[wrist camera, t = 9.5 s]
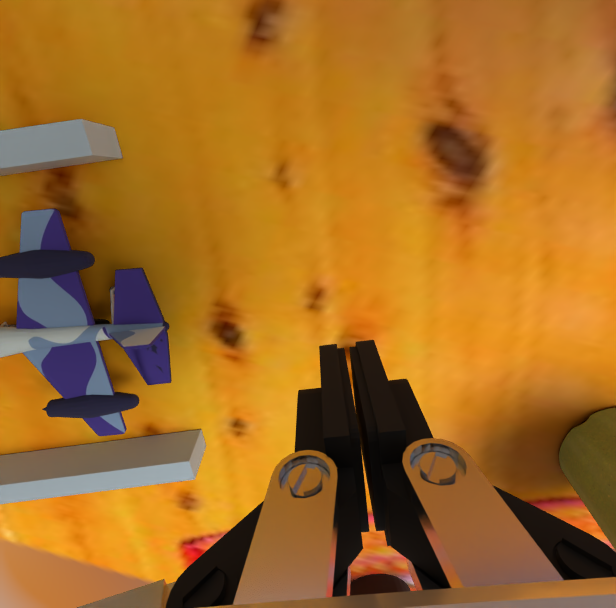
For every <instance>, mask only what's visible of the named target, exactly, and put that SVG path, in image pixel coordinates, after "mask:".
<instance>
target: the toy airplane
mask: <svg viewBox="0 0 616 608" xmlns="http://www.w3.org/2000/svg"><path fill="white" fill-rule="evenodd" d="M94 262H95V258H94V256H93V255H92V254H91V253H89V252H86V251H76V250H71V247H70V244H69V241H68V237H67V234H66V231H65V228H64V225H63V222H62V219H61V216H60V213H59V211H58V210H57V209H44V210H34V211H24V212H23V213H22V215H21V237H20V253H16V254H12V255H8V256H4V257H0V278H2V277H3V278H19V281H18V302H17V324H16V325H7V322H3V324H1V325H0V357H5V356H9V355H14V354H18V353H23V354H24V355H25V356H26V357H27V358H28V359H29V360H30V361H31V363H32V364H33V365H34V366H35V367H36V368H37V369H38V370H39V371H40V372H41V374H42V375H43V376H44V377H45V378H46V379H47V380H48V381H49V382H50V383H51V384H52V386H53V387H54V388H55V389H56V390H57V391H58V392H59V393H60V394H61V395H62V397H63V398H60V399H54V400H51V401H50V402H49V403H48V404H47V407H46V408H44V409H42V410H45V411H46V412H47V415H48V416H49V417H70V418H83V420H84V421H85V422H86V423H87V424H88V425H89V426H90V427H91V428H92V429H93V430H94V432H95V433H96V434H97V435H98V436H107V435H117V434H123V433H125V431H126V426H125V423H124V420H123V417H122V413H121V411H125V410H128V409H132V408H135V407H136V406H137V405H138V403H139V398H138V396H137V395H135V394H128V393H121V392H114V388H113V385H112V382H111V379H110V376H109V373H108V370H107V367H106V364H105V360H104V357H103V354H102V351H101V348H100V345H99V342H98V341H101V340H108V339H114V340H115V341H116V342H117V343H118V344H119V345H120V346H121V347H122V348H123V349H124V350H125V352H126V353H127V355H128V356H129V358H130V359H131V361H132V362H133V364H134V365H135V367H136V368H137V370H138V371H139V373H140V374H141V376H142V377H143V379H144V380H145V382H146V383H147V385H154V384H163V383H171V368H170V355H169V341H168V333H167V330H168V329H169V324H168V323H167V322H165V321H164V317H163V315H162V313H161V310H160V308H159V306H158V303H157V301H156V299H155V296H154V294H153V291H152V289H151V287H150V284H149V282H148V280H147V277H146V275H145V272H144V270H143V268H132V269H119V270H115V286H112V287H111V288H110V298H111V316H112V324H110V322H109V321H108V320H106V319H94V318H93V315H92V312H91V309H90V306H89V303H88V300H87V297H86V293H85V290H84V287H83V284H82V281H81V278H80V275H79V272H78V271H79V270H82V269H85V268H88V267H91V266H92V265H93V264H94ZM114 294H115V297H114ZM2 326H3V327H2Z"/></svg>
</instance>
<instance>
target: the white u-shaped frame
mask: <svg viewBox="0 0 616 608" xmlns="http://www.w3.org/2000/svg"><path fill="white" fill-rule="evenodd" d="M121 158H123V157H122V153H121V150H120V146H119V143H118V139H117V136H116V132H115V129H114V127H110V126H106V125H102V124H99V123H95V122H91V121H87V120H84V119H77V120H70V121H63V122H57V123H50V124H43V125H36V126H29V127H22V128H16V129H9V130H2V131H0V176H3V175H10V174H17V173H24V172H31V171H38V170H45V169H52V168H59V167H66V166H73V165H80V164H86V163H93V162H100V161H107V160H114V159H121ZM205 448H206V444H205V441H204V437H203V434H202V430H201V429H200V430H192V431H184V432H177V433H169V434H161V435H154V436H146V437H138V438H130V439H123V440H115V441H107V442H100V443H92V444H84V445H77V446H69V447H61V448H53V449H46V450H38V451H30V452H23V453H15V454H7V455H0V504H5V503H13V502H21V501H29V500H36V499H44V498H52V497H60V496H68V495H76V494H84V493H91V492H99V491H107V490H115V489H123V488H131V487H138V486H146V485H154V484H162V483H170V482H178V481H186V480H193V479H195V477H196V474H197V472H198V469H199V466H200V463H201V460H202V457H203V454H204V451H205Z"/></svg>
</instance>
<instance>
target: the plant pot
mask: <svg viewBox="0 0 616 608" xmlns="http://www.w3.org/2000/svg"><path fill="white" fill-rule="evenodd" d="M559 463H560V467H561V469H562V471H563V473H564V474H565V476H566V478H567V479H568V481H569V482H570V484H571V485H572V487H573V488H574V490H575V491H576V492H577V494H578V495H579V497H580V498H581V500H582V501H583V503H584V504H585V506H586V507H587V509H588V510H589V512H590V513H591V515H592V516H593V518H594V519H595V520H596V522H597V523H598V525H599V526H600V528H601V529H602V531H603V532H604V534H605V535H606V537H607V538H608V540H609V541H610V543H611V544H612V546H613V547H614V549H616V408H609V409H605V410H601V411H599V412H596V413H594V414H592V415H590V417H589V419H588V420H587V421H586V422H584V423H583V424H581V425H580V426H578V427H575V428H573V429H572V430H571V431H570V432H569V433H568V434H567V436H566V437H565V439H564V441H563V443H562V445H561V448H560V452H559Z"/></svg>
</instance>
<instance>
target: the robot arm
mask: <svg viewBox="0 0 616 608" xmlns="http://www.w3.org/2000/svg"><path fill="white" fill-rule="evenodd" d="M319 349H320V370H321V388H315V389H305V390H299V391H298V403H297V421H296V439H295V453H292V454H290V455H288V456H287V457H285V458H284V459H282V460H281V461H280V462H279V464H278V465H277V466H276V467H275V469H274V471H273V473H272V476H271V480H270V483H269V486H268V490H267V493H266V496H265V499H264V501H263V502H262V503H261V504H260V505H258V506H257V507H256V508H255V509H254V510H253V511H252V512H250V513H249V514H248V515H247V516H246V517H245V518H244V519H243V520H241V521H240V522H239V523H238V524H237V525H236V526H235V527H233V528H232V529H231V530H230V531H229V532H228V533H227V534H225V535H224V536H223V537H222V538H221V539H220V540H219V541H217V542H216V543H215V544H214V545H213V546H212V547H211V548H209V549H208V550H207V551H206V552H205V553H204V554H203V555H202V556H200V557H199V558H198V559H197V560H196V561H195V562H194V563H192V564H191V565H190V566H189V567H188V568H187V569H186V570H185V571H184V572H183V573H182V575H181V576H180V577H179V578H178V579H177V581H176V582H173V583H170V584H166V582H165V580H164V579H163V580H160V581H157V582H154V583H151V584H148V585H145V586H142V587H139V588H136V589H133V590H130V591H126V592H123V593H121V594H117V595H114V596H111V597H108V598H105V599H102V600H99V601H96V602H93V603H90V604H86V605H83V606H80V607H77V608H616V549H611V548H610V547H609V546H608V545H607V544H605V543H603V542H602V541H600V540H599V539H597V538H595V537H594V536H592V535H590V534H588V533H586V532H584V531H582V530H580V529H578V528H576V527H574V526H572V525H570V524H568V523H566V522H564V521H562V520H561V519H559V518H557V517H555V516H553V515H551V514H549V513H547V512H545V511H543V510H541V509H539V508H537V507H535V506H533V505H531V504H529V503H527V502H525V501H523V500H521V499H519V498H517V497H515V496H513V495H511V494H509V493H507V492H505V491H503V490H501V489H499V488H497V487H495V486H493V485H492V484H491V483H490V482H489V480H488V479H487V478H486V477H485V475H484V474H483V473H482V471H481V470H480V469H479V467H478V466H477V465H476V463H475V462H474V461H473V459H472V458H471V457H470V455H469V454H468V453H467V452H466V451H465V450H464V449H463V448H461V447H459V446H458V445H456V444H454V443H452V442H449V441H446V440H443V439H436V438H433V436H432V434H431V431H430V429H429V427H428V425H427V422H426V420H425V418H424V416H423V413H422V411H421V409H420V407H419V404H418V402H417V400H416V398H415V395H414V393H413V391H412V389H411V387H410V384H409V382H408V380H407V379H399V380H390V381H388V379H387V376H386V373H385V370H384V368H383V365H382V362H381V359H380V356H379V354H378V351H377V348H376V345H375V342H374V340H368V341H359V342H356V347H350V359H351V369H352V379H353V389H354V399H355V406H354V400H353V395H352V389H351V383H350V378H349V372H348V367H347V361H346V356H345V350H344V348H338V349H337V344H332V345H323V346H319ZM355 408H356V411H355ZM361 449H362V452H361ZM362 455H363V460H364V466H365V471H366V477H367V483H368V488H369V494H370V500H371V505H372V511H373V516H374V522H375V528H376V531H383V530H384V531H385V536H386V541H387V546H391V547H393V548H394V549H395V550H396V551H398V552H399V553H400V554H402V555H403V556H404V557H406V558H407V564H408V568H409V572H410V574H411V577H412V580H413V582H414V585H415V587H416V590H417V591H407V592H393V593H380V594H367V595H353V596H350V582H351V572H350V564H351V563H352V562H353V561H354V559H355V558H356V557H357V555H358V554H359V553H360V552H361V550H362V549H363V545H362V536H361V532H369V524H368V513H367V503H366V493H365V483H364V473H363V463H362Z"/></svg>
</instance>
